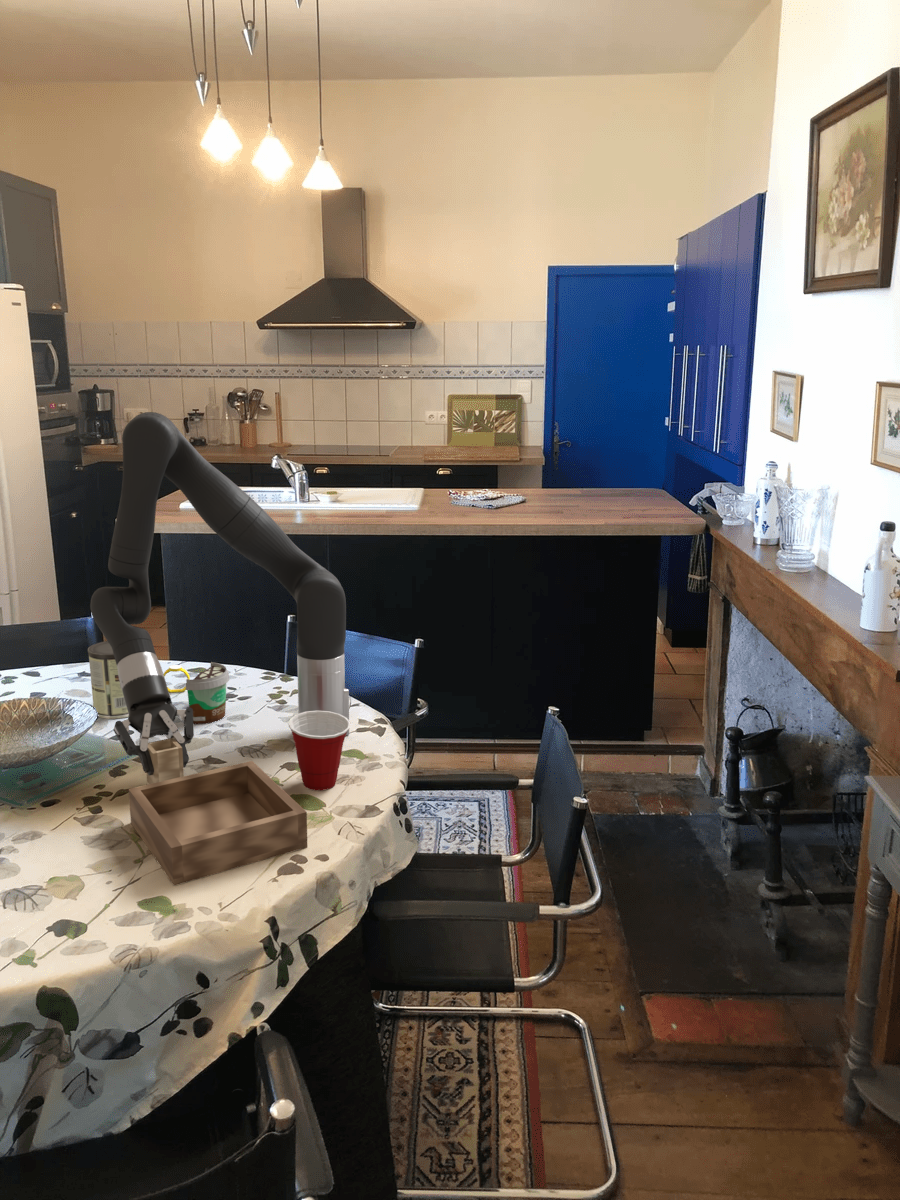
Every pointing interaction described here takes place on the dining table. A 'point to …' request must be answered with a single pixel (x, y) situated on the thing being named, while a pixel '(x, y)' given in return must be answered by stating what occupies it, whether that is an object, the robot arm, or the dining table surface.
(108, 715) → the coffee can
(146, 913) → the dining table surface
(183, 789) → the crate
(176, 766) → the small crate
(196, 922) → the dining table surface
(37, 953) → the dining table surface
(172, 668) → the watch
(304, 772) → the plastic cup
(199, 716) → the food container
